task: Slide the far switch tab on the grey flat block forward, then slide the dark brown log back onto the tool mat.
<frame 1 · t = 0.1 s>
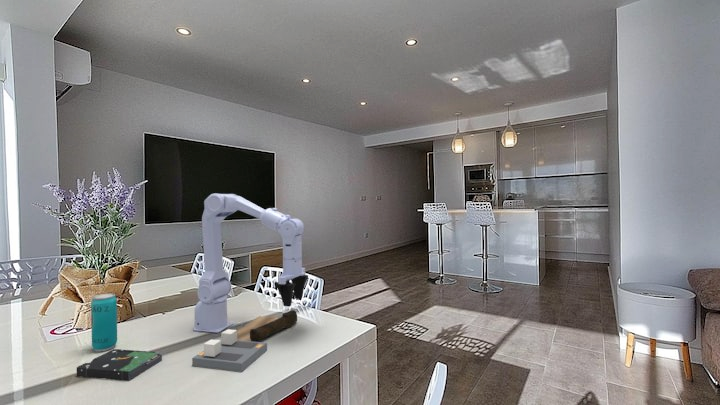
hand: (293, 302, 102), 10 cm above the table, tool pointing down, fingers open, 7 cm apart
switch tab b: (212, 347, 85), point 4 cm above the table, slide at 0.0 cm
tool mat: (252, 329, 107), on the table
grey flat block: (231, 357, 88), on the table
disk drive: (121, 370, 83), on the table
dark brown log: (275, 332, 105), on the table, touching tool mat
beverage can: (104, 349, 95), on the table
switch tab a: (229, 336, 92), point 4 cm above the table, slide at 0.0 cm
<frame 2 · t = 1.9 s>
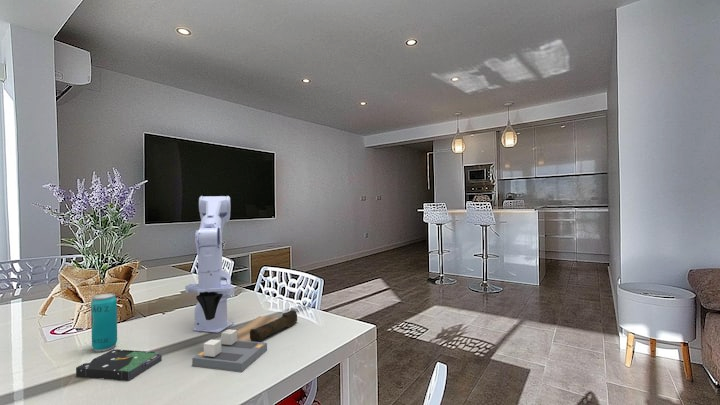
hand: (210, 318, 93), 8 cm above the table, tool pointing down, fingers closed
nothing on the table moved.
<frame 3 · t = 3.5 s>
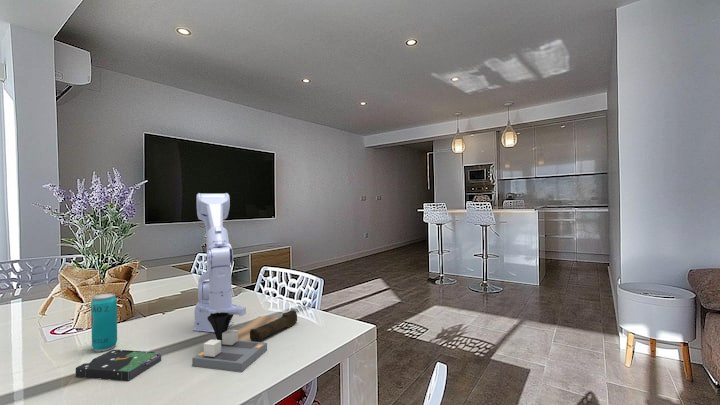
hand: (221, 339, 93), 3 cm above the table, tool pointing down, fingers closed
switch tab a: (230, 337, 92), point 4 cm above the table, slide at 0.3 cm, touching gripper
everything else where it was.
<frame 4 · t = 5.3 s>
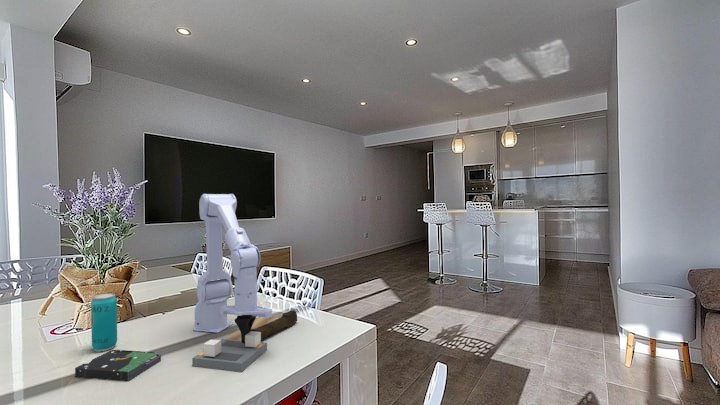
hand: (246, 341, 91), 3 cm above the table, tool pointing down, fingers closed, pressing on switch tab a
switch tab a: (253, 339, 90), point 4 cm above the table, slide at 7.3 cm, touching gripper
everything else where it was.
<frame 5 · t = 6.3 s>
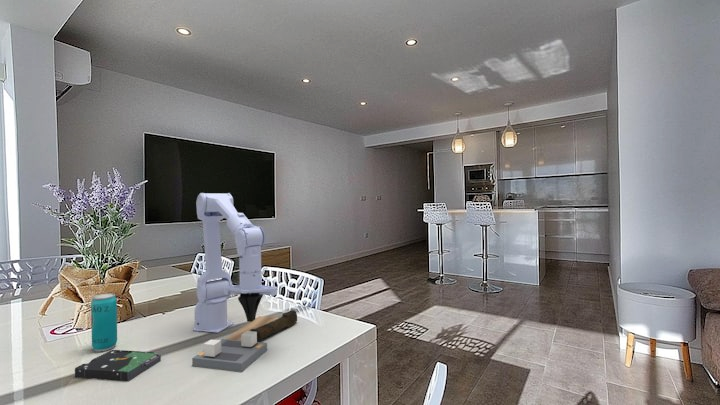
hand: (251, 320, 92), 8 cm above the table, tool pointing down, fingers closed
switch tab a: (249, 338, 91), point 4 cm above the table, slide at 6.1 cm
everything else where it was.
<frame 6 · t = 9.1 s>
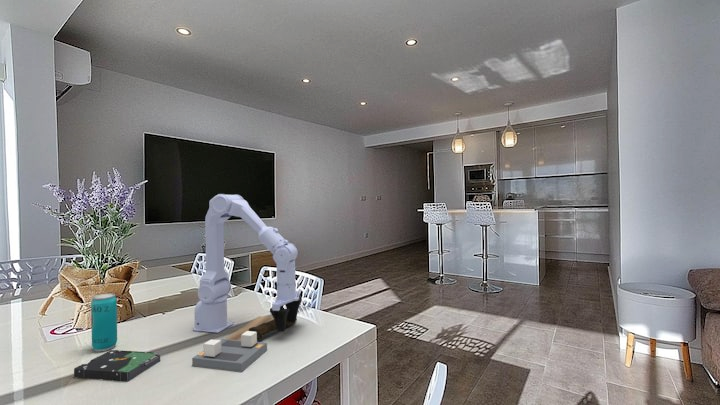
hand: (286, 326, 104), 2 cm above the table, tool pointing down, fingers open, 7 cm apart
nothing on the table moved.
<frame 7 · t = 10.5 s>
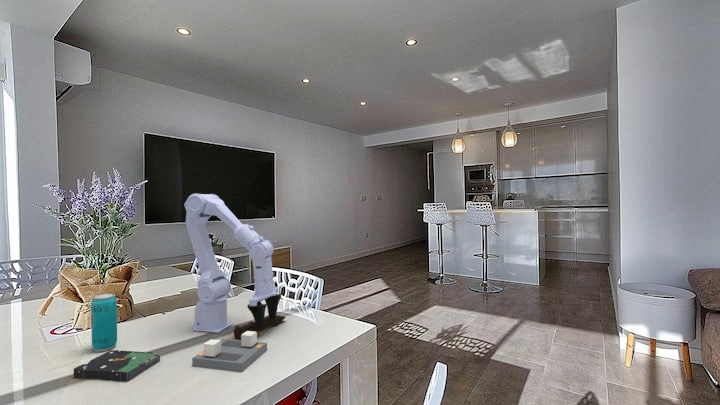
hand: (266, 321, 106), 3 cm above the table, tool pointing down
dark brown log: (266, 326, 106), point 1 cm above the table, touching gripper, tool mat
everything else where it was.
when the fingers open (3 cm above the table, at t = 11.2 s): dark brown log stays where it is, resting on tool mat.
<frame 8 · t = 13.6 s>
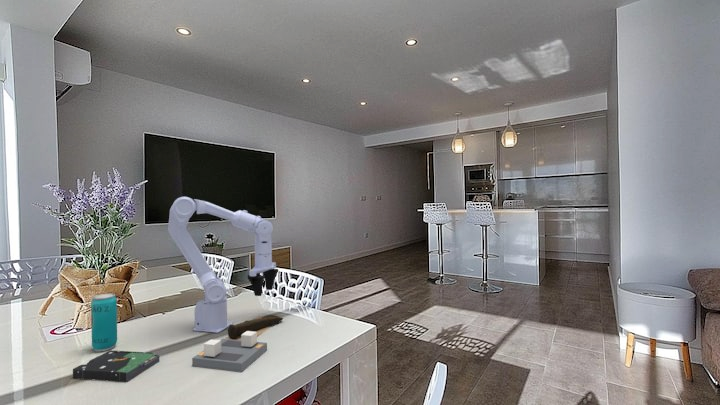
hand: (263, 292, 116), 9 cm above the table, tool pointing down, fingers open, 7 cm apart
dark brown log: (261, 327, 106), point 1 cm above the table, touching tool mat
everything else where it was.
at the end: switch tab a slide at 6.1 cm; switch tab b slide at 0.0 cm; dark brown log inside the target area on the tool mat (3.4 cm from its centre), point 1.0 cm above the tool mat's base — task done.
